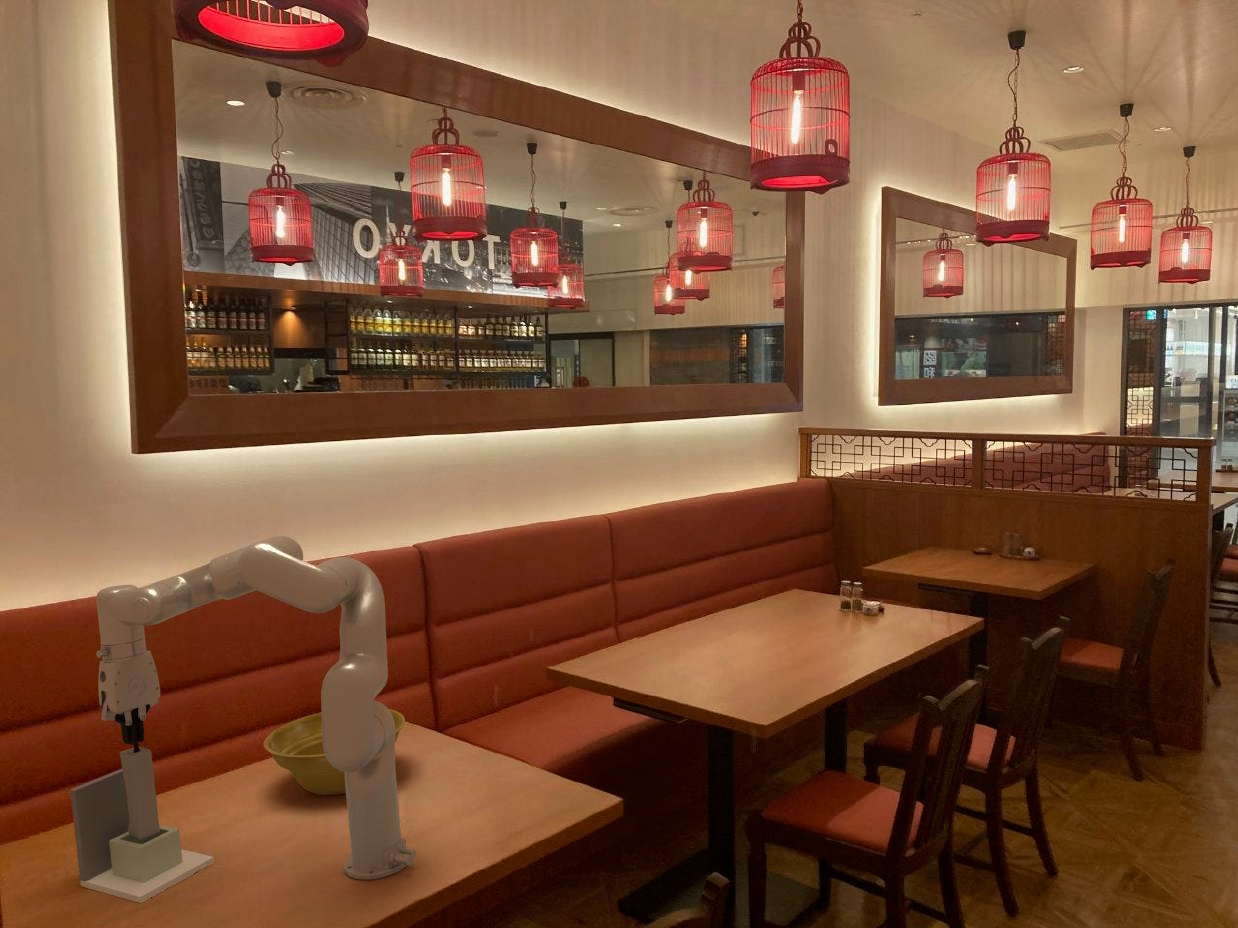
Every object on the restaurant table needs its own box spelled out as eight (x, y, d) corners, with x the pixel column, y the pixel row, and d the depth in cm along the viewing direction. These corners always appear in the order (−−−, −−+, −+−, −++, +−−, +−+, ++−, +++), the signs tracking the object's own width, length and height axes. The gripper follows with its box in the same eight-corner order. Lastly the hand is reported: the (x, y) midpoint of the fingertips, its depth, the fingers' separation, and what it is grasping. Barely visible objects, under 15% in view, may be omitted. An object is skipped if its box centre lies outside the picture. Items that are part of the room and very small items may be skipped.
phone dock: (214, 862, 186) (204, 768, 185) (140, 903, 172) (130, 802, 171) (155, 848, 194) (145, 758, 193) (80, 885, 180) (70, 789, 179)
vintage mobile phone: (147, 827, 186) (134, 704, 184) (160, 832, 183) (146, 708, 181) (128, 835, 183) (115, 710, 181) (140, 840, 180) (127, 714, 178)
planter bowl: (337, 823, 200) (331, 762, 199) (239, 800, 217) (233, 744, 216) (437, 767, 228) (432, 714, 227) (343, 751, 244) (338, 701, 243)
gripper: (98, 661, 172) (109, 758, 173) (171, 640, 185) (181, 730, 186) (73, 659, 175) (84, 754, 176) (147, 638, 189) (156, 727, 190)
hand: (134, 741), depth 181 cm, fingers closed on vintage mobile phone, 1 cm apart
